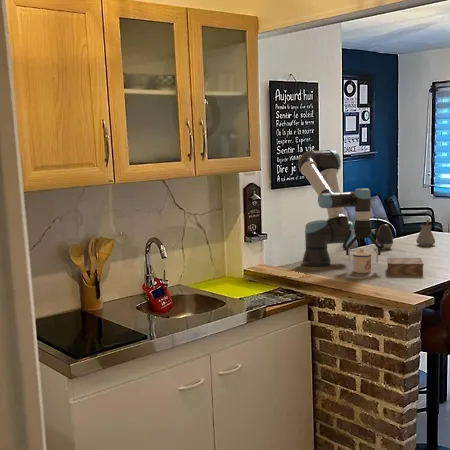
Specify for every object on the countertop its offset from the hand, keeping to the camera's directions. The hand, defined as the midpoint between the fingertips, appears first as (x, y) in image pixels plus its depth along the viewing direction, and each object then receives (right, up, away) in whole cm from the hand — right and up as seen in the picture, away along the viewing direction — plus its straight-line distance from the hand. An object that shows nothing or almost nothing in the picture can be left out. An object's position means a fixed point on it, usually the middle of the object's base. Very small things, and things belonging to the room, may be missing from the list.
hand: (363, 261), depth 294 cm
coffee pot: (+59, +6, +80) cm, 100 cm away
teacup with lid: (0, -5, +1) cm, 5 cm away
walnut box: (+19, -5, -5) cm, 21 cm away
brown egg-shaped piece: (+29, +4, +68) cm, 74 cm away
